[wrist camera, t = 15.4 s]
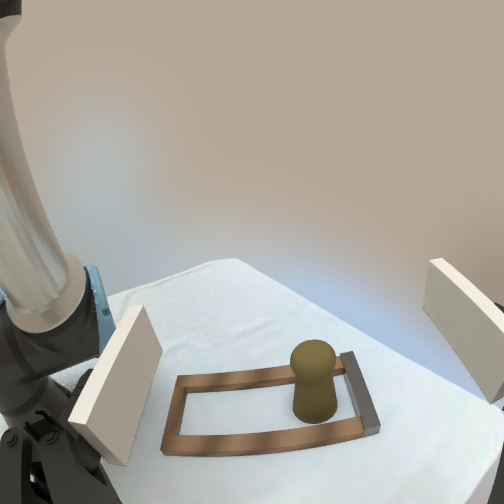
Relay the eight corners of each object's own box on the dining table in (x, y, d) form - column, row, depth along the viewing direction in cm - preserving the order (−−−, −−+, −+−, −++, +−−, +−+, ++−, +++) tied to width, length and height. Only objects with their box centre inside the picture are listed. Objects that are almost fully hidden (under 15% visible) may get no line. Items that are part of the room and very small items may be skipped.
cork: (323, 382, 38) (321, 325, 34) (346, 410, 33) (351, 353, 28) (285, 400, 36) (276, 344, 32) (305, 431, 31) (301, 378, 27)
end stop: (363, 437, 28) (365, 429, 27) (339, 362, 41) (340, 353, 40) (378, 432, 28) (380, 425, 27) (352, 360, 41) (352, 350, 40)
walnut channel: (164, 454, 30) (160, 449, 29) (180, 381, 43) (177, 375, 42) (363, 437, 28) (364, 431, 28) (339, 362, 41) (339, 355, 40)
